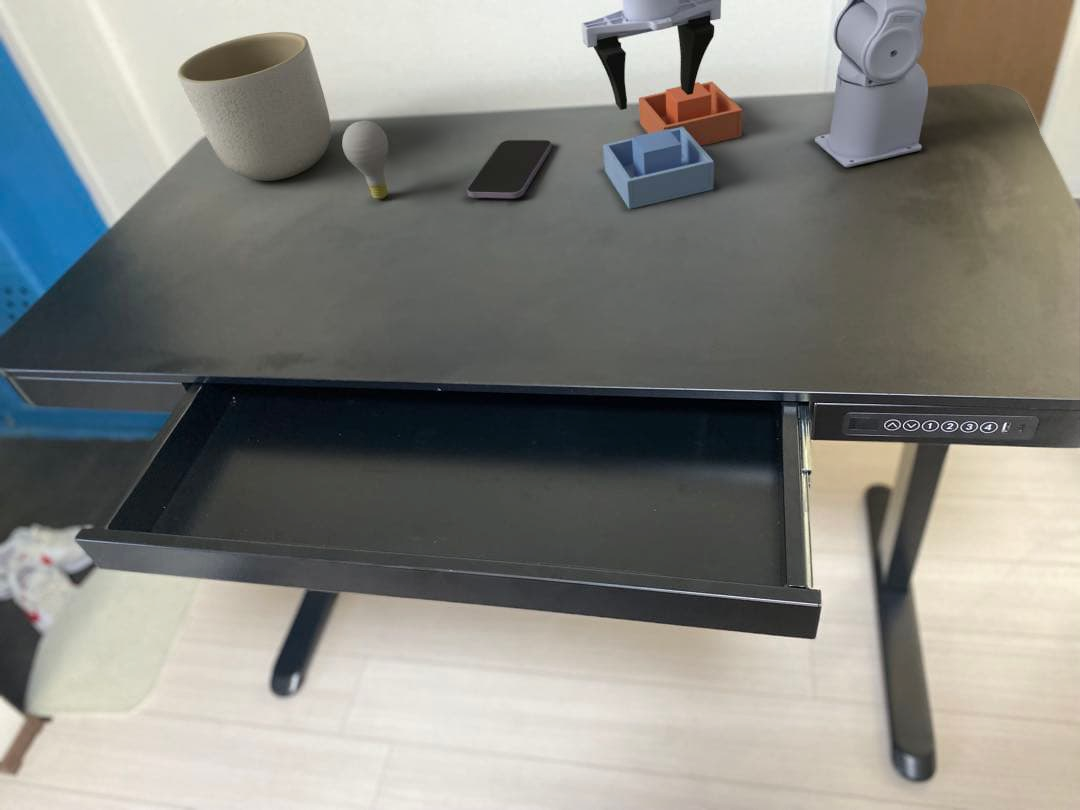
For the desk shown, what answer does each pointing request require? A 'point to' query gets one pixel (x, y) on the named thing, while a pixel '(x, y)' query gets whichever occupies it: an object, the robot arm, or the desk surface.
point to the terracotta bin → (704, 129)
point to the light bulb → (368, 153)
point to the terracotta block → (687, 104)
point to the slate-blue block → (655, 152)
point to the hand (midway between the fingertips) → (654, 98)
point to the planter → (260, 104)
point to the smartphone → (510, 169)
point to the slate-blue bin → (659, 173)
